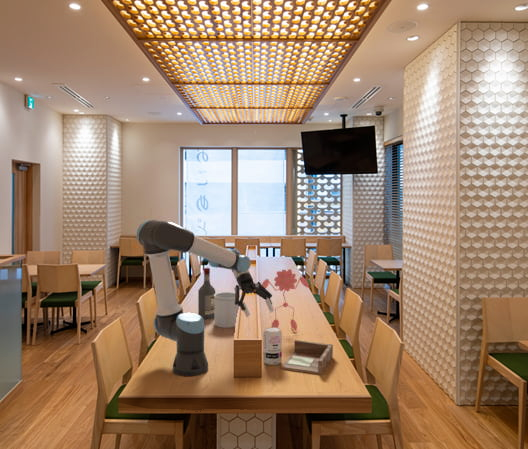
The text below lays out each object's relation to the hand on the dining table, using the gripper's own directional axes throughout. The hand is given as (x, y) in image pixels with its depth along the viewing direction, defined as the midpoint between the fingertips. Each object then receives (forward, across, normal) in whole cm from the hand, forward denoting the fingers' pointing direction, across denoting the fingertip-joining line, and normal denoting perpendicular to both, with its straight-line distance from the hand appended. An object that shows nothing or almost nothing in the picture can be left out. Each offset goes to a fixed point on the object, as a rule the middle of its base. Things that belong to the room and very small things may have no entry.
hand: (260, 313), depth 212 cm
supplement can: (+22, +1, -6) cm, 23 cm away
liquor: (-36, -9, -65) cm, 75 cm away
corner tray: (+28, -12, 0) cm, 31 cm away
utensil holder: (-22, -11, -51) cm, 57 cm away
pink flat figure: (0, -30, -29) cm, 42 cm away
